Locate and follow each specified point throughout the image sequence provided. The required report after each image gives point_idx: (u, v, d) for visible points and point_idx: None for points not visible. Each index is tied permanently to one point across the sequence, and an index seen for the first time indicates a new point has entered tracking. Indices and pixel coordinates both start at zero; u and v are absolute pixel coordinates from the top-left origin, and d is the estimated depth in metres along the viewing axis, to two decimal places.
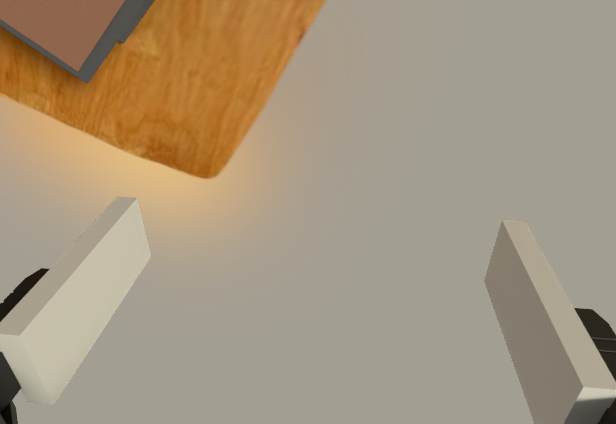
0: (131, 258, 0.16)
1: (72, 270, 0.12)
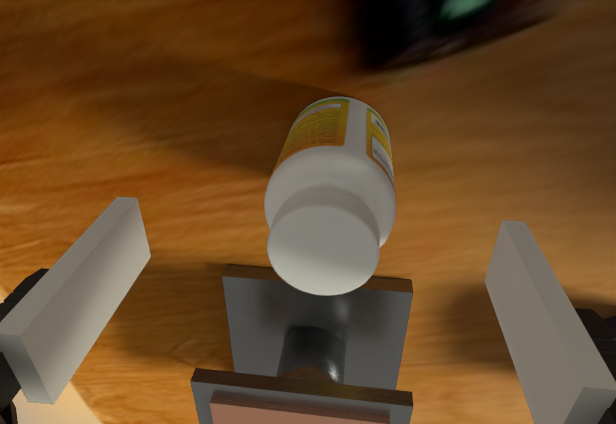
0: (131, 258, 0.16)
1: (72, 270, 0.12)
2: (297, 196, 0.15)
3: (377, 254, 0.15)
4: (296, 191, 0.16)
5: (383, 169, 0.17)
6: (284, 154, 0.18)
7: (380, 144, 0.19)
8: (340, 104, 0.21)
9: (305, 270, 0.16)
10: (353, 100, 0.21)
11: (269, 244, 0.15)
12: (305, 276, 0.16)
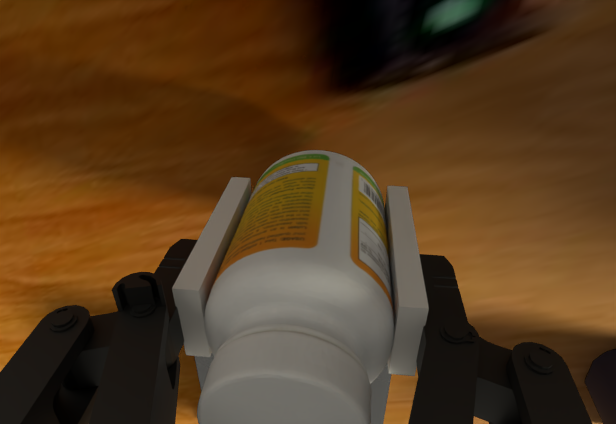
0: None
1: (220, 238, 0.14)
2: (242, 341, 0.10)
3: None
4: (245, 320, 0.11)
5: (375, 278, 0.12)
6: (233, 249, 0.13)
7: (371, 228, 0.13)
8: (317, 165, 0.15)
9: None
10: (334, 156, 0.16)
11: (200, 415, 0.10)
12: None
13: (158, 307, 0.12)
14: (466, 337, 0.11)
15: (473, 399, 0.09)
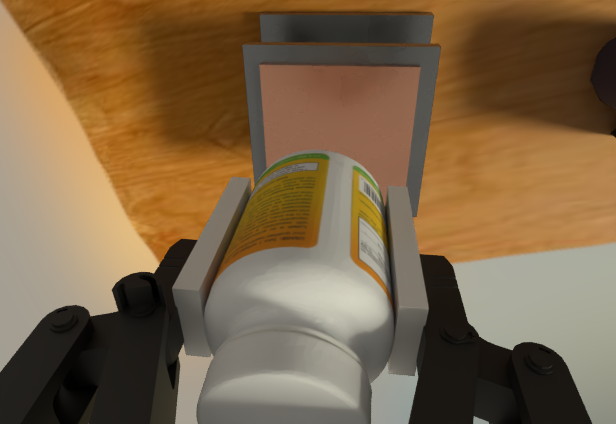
0: None
1: (220, 238, 0.14)
2: (242, 341, 0.10)
3: None
4: (245, 319, 0.11)
5: (375, 277, 0.12)
6: (233, 249, 0.12)
7: (371, 228, 0.13)
8: (317, 164, 0.15)
9: None
10: (334, 156, 0.16)
11: (199, 415, 0.10)
12: None
13: (158, 307, 0.12)
14: (466, 337, 0.11)
15: (473, 399, 0.09)
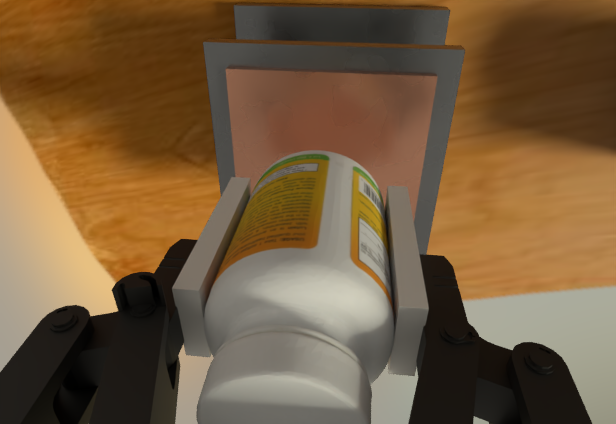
0: None
1: (220, 238, 0.14)
2: (242, 342, 0.10)
3: None
4: (245, 320, 0.11)
5: (375, 278, 0.12)
6: (233, 250, 0.12)
7: (371, 229, 0.13)
8: (317, 165, 0.15)
9: None
10: (334, 156, 0.16)
11: (199, 416, 0.10)
12: None
13: (158, 307, 0.12)
14: (466, 337, 0.11)
15: (473, 399, 0.09)
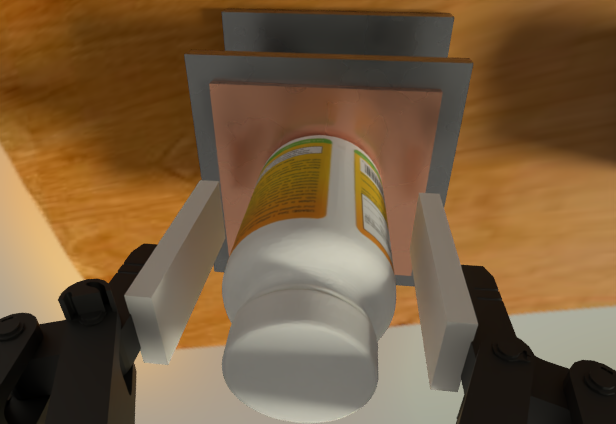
0: (214, 237, 0.17)
1: (180, 243, 0.14)
2: (262, 299, 0.11)
3: (375, 379, 0.11)
4: (262, 283, 0.12)
5: (379, 245, 0.13)
6: (248, 223, 0.14)
7: (373, 204, 0.15)
8: (321, 148, 0.16)
9: (276, 396, 0.11)
10: (336, 140, 0.17)
11: (224, 366, 0.11)
12: (277, 402, 0.12)
13: (109, 313, 0.11)
14: (520, 356, 0.10)
15: (525, 421, 0.09)
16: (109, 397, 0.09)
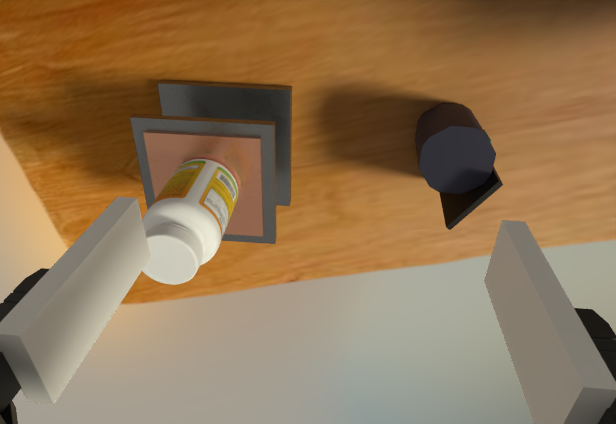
0: (131, 258, 0.16)
1: (72, 270, 0.12)
2: (151, 228, 0.27)
3: (195, 260, 0.27)
4: (155, 224, 0.28)
5: (209, 210, 0.29)
6: (154, 200, 0.30)
7: (216, 193, 0.31)
8: (198, 166, 0.33)
9: (158, 270, 0.28)
10: (209, 162, 0.34)
11: None
12: (159, 273, 0.28)
13: None
14: None
15: None
16: None
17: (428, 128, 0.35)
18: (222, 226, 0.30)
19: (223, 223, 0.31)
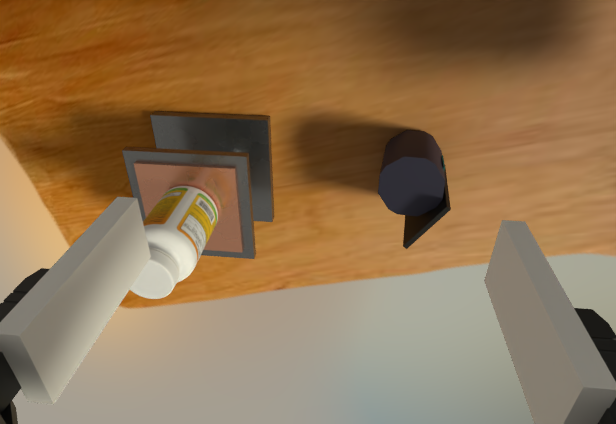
0: (131, 258, 0.16)
1: (72, 270, 0.12)
2: None
3: (171, 279, 0.32)
4: None
5: (186, 235, 0.34)
6: None
7: (194, 218, 0.36)
8: (180, 193, 0.37)
9: (141, 286, 0.33)
10: (191, 188, 0.38)
11: None
12: (141, 289, 0.33)
13: None
14: None
15: None
16: None
17: (388, 156, 0.39)
18: (198, 247, 0.35)
19: (199, 245, 0.35)
